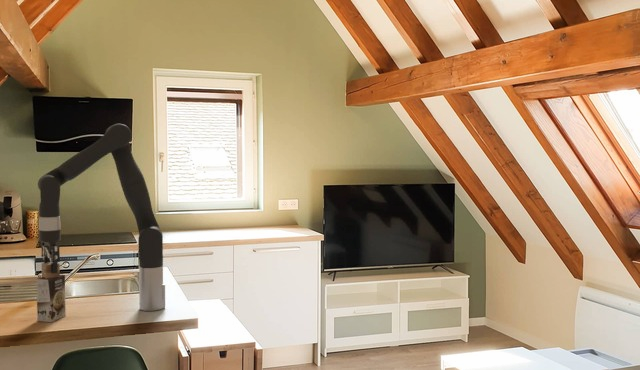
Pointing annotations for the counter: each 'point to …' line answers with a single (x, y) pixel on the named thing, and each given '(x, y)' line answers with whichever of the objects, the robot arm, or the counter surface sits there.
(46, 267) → the walnut cube
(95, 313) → the counter surface
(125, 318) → the counter surface
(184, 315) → the counter surface
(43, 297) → the coffee box
